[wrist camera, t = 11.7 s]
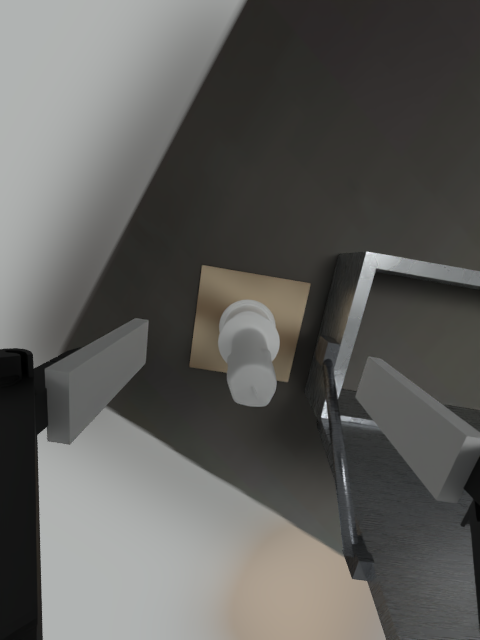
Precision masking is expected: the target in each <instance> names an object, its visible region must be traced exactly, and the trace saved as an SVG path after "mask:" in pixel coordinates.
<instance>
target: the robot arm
mask: <svg viewBox="0 0 480 640" xmlns="http://www.w3.org/2000/svg"><path fill="white" fill-rule="evenodd" d="M148 324H149V320H145V319H139V318H135V319H133V320H131V321H129V322H128V323H126V324H124V325H122V326H120V327H119V328H117V329H115V330H113V331H112V332H110V333H108V334H106V335H104V336H103V337H101V338H99V339H97V340H95V341H94V342H92V343H90V344H88V345H86V346H85V347H83V348H77V349H73V350H69V351H67V352H65V353H63V354H61V355H59V356H58V357H55V358H53V359H52V360H50V362H49V361H48V362H46V363H44V364H42V365H40V366H38V367H37V368H34V369H33V354H32V353H31V352H30V351H28V350H25V349H17V348H14V349H0V640H43V636H42V599H41V561H40V524H39V485H38V451H37V450H38V447H37V435H38V434H39V433H40V432H41V431H42V430H43V429H45V428H46V427H47V437H48V438H47V439H48V441H51V442H57V443H63V444H71V443H72V442H73V441H74V439H75V438H76V437H77V436H78V435H79V434H80V433H81V432H82V431H83V430H84V429H85V428H86V426H87V425H88V424H89V423H90V422H91V421H92V420H93V419H94V418H95V417H96V416H97V415H98V414H99V412H101V410H102V409H103V408H104V407H105V406H106V405H107V404H108V403H109V402H110V401H111V400H112V399H113V398H114V397H115V396H116V394H117V393H118V392H119V391H120V390H121V389H122V388H123V387H124V386H125V385H126V384H127V383H128V382H129V381H130V379H131V378H132V377H133V376H134V375H135V374H136V373H137V372H138V371H139V370H140V369H141V368H142V367H143V366H144V364H145V363H146V351H147V338H148ZM355 398H356V399H357V400H358V401H359V403H360V404H361V405H362V407H363V408H364V409H365V410H366V412H367V413H368V414H369V415H370V417H371V418H372V419H373V420H374V422H375V423H376V424H377V426H378V427H379V428H380V429H381V431H382V432H383V433H384V434H385V436H386V437H387V438H388V440H389V441H390V442H391V443H392V445H393V446H394V447H395V448H396V450H397V451H398V452H399V454H400V455H401V456H402V457H403V459H404V460H405V461H406V462H407V464H408V465H409V466H410V468H411V469H412V470H413V471H414V473H415V474H416V475H417V476H418V478H419V479H420V480H421V481H422V483H423V484H424V485H425V487H426V488H427V489H428V490H429V492H430V493H431V494H432V495H433V497H434V498H435V499H436V500H437V501H444V502H451V503H457V502H458V501H459V499H460V497H461V495H462V493H463V491H464V490H465V491H466V492H467V493H468V494H469V495H470V496H471V497H472V498H473V501H472V503H471V504H470V506H469V508H468V510H467V512H466V514H465V516H464V518H463V520H462V522H461V524H460V525H461V526H462V527H465V525H466V524H470V529H471V531H470V532H471V540H472V552H473V563H474V575H475V586H476V598H477V609H478V620H479V632H480V432H479V431H477V430H476V429H475V428H473V427H472V426H471V425H469V424H468V423H466V422H465V421H464V420H462V419H461V418H460V417H458V416H457V415H456V414H454V413H453V412H452V411H450V410H449V409H448V408H446V407H445V406H444V405H442V404H441V403H440V402H438V401H437V400H436V399H434V398H433V397H432V396H430V395H429V394H428V393H426V392H425V391H424V390H422V389H421V388H420V387H418V386H417V385H416V384H414V383H413V382H412V381H410V380H409V379H408V378H406V377H405V376H404V375H402V374H401V373H400V372H398V371H397V370H395V369H394V368H393V367H391V366H390V365H389V364H387V363H386V362H385V361H383V360H382V359H381V358H375V357H369V356H368V359H367V362H366V365H365V368H364V371H363V374H362V377H361V380H360V383H359V386H358V390H357V393H356V396H355Z"/></svg>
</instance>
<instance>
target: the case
mask: <svg viewBox="0 0 480 640" xmlns="http://www.w3.org/2000/svg"><path fill="white" fill-rule="evenodd" d="M375 272H379V273H385V274H391V275H396V276H402V277H408V278H414V279H420V280H425V281H431V282H437V283H443V284H449V285H454V286H460V287H466V288H472V289H478V290H480V271H475V270H469V269H463V268H458V267H452V266H446V265H440V264H435V263H429V262H423V261H418V260H412V259H406V258H401V257H395V256H389V255H383V254H378V253H372V252H355V253H343V254H339V255H338V259H337V263H336V267H335V271H334V275H333V279H332V283H331V287H330V291H329V295H328V299H327V303H326V307H325V311H324V315H323V319H322V323H321V327H320V331H319V335H318V339H317V343H316V347H315V351H314V355H313V359H312V363H311V367H310V371H309V374H308V378H307V382H306V386H305V390H304V393H305V395H306V397H307V399H308V401H309V403H310V405H311V407H312V409H313V412H314V414H315V416H316V418H317V428H318V431H319V434H320V437H321V440H322V443H323V446H324V449H325V452H326V455H327V458H328V461H329V464H330V468H331V471H332V474H333V477H334V480H335V483H336V491H337V500H338V509H339V518H340V527H341V535H342V544H343V550H342V551H343V554H344V557H345V559H346V562H347V565H348V568H349V571H350V574H351V577H352V579H357V580H364V581H367V582H368V585H369V588H370V591H371V594H372V597H373V600H374V603H375V606H376V609H377V612H378V615H379V619H380V622H381V625H382V628H383V631H384V634H385V637H386V640H480V632H479V620H478V609H477V598H476V586H475V575H474V563H473V552H472V540H471V532H470V531H471V529H470V524H466V525H465V527H462V526H461V525H460V524H461V522H462V520H463V518H464V516H465V514H466V512H467V510H468V508H469V506H470V504H471V503H472V501H473V498H472V497H471V496H470V495H469V494H468V493H467V492H466V491H465V490H464V491H463V493H462V495H461V497H460V499H459V501H458V502H457V503H451V502H444V501H437V500H436V499H435V498H434V497H433V495H432V494H431V493H430V492H429V490H428V489H427V488H426V487H425V485H424V484H423V483H422V481H421V480H420V479H419V478H418V476H417V475H416V474H415V473H414V471H413V470H412V469H411V468H410V466H409V465H408V464H407V462H406V461H405V460H404V459H403V457H402V456H401V455H400V454H399V452H398V451H397V450H396V448H395V447H394V446H393V445H392V443H391V442H390V441H389V440H388V438H387V437H386V436H385V434H384V433H383V432H382V431H381V429H380V428H379V427H378V426H377V424H376V423H375V422H374V420H373V419H372V418H371V417H370V415H369V414H368V413H367V412H366V410H365V409H364V408H363V407H362V405H361V404H360V403H359V401H358V400H357V399H356V398H355V396H356V393H357V391H352V390H346V389H341V388H342V385H343V381H344V378H345V374H346V371H347V367H348V364H349V360H350V357H351V353H352V350H353V347H354V343H355V340H356V336H357V333H358V329H359V326H360V322H361V319H362V315H363V312H364V309H365V305H366V302H367V298H368V295H369V291H370V288H371V284H372V281H373V278H374V274H375ZM444 406H445V407H446V408H448V409H449V410H450V411H452V412H453V413H454V414H456V415H457V416H458V417H460V418H461V419H462V420H464V421H465V422H466V423H468V424H469V425H471V426H472V427H473V428H475V429H476V430H477V431H479V432H480V410H474V409H468V408H462V407H455V406H449V405H444Z"/></svg>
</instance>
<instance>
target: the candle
mask: <svg viewBox="0 0 480 640" xmlns="http://www.w3.org/2000/svg"><path fill="white" fill-rule="evenodd" d="M219 332H220V334H219V338H218V347H219V351H220V354H221V356H222V358H223V359H224V361H225V362H226V363H227V364H228V370H227V383H228V386H229V389H230V392H231V395H232V398H233V400H234V401H235V402H236V403H238V404H242V405H246V406H252V407H263V406H266V405H267V404H268V403H269V402H270V400H271V398H272V397H273V395H274V393H275V391H276V386H277V381H276V375H275V370H274V367H273V363H272V361H273V360H274V359H275V357H276V355H277V353H278V350H279V346H280V339H279V334H278V331H277V329H276V324H275V319H274V316H273V314H272V312H271V311H270V310H269V309H268V308H267V307H266V306H265V305H264V304H262V303H260V302H258V301H255V300H249V299H246V300H240V301H237V302H235V303H233V304H231V305H230V306H229V307H227V308H226V310H225V311H224V312H223V314H222V316H221V318H220V322H219Z"/></svg>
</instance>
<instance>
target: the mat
mask: <svg viewBox="0 0 480 640" xmlns="http://www.w3.org/2000/svg"><path fill="white" fill-rule="evenodd" d="M310 285H311V284H310V283H305V282H299V281H294V280H288V279H282V278H276V277H270V276H264V275H258V274H252V273H246V272H240V271H235V270H229V269H223V268H217V267H211V266H205V265H202V270H201V278H200V286H199V294H198V302H197V310H196V317H195V325H194V333H193V341H192V349H191V357H190V365H189V367H193V368H199V369H205V370H212V371H218V372H225V373H227V370H228V364H227V363H226V362H225V361H224V359H223V358H222V356H221V354H220V351H219V347H218V338H219V334H220V332H219V322H220V318H221V316H222V314H223V312H224V311H225V310H226V308H227V307H229V306H230V305H231V304H233V303H235V302H237V301H240V300H246V299H249V300H255V301H258V302H260V303H262V304H264V305H265V306H266V307H267V308H268V309H269V310H270V311H271V312H272V314H273V316H274V319H275V324H276V329H277V331H278V334H279V339H280V346H279V350H278V353H277V355H276V357H275V359H274V360H273V361H272V363H273V367H274V370H275V375H276V381H283V382H288V380H289V375H290V371H291V367H292V362H293V358H294V354H295V349H296V345H297V341H298V337H299V332H300V328H301V324H302V319H303V315H304V311H305V306H306V302H307V298H308V293H309V289H310Z"/></svg>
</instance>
